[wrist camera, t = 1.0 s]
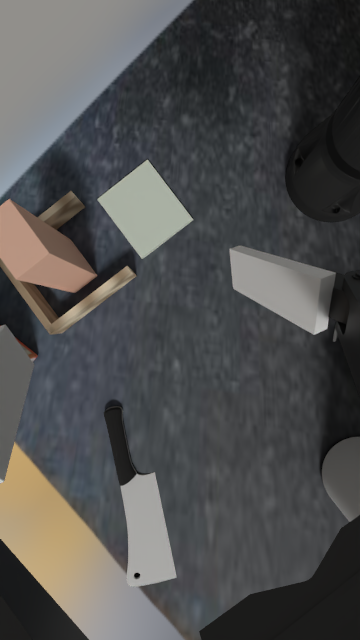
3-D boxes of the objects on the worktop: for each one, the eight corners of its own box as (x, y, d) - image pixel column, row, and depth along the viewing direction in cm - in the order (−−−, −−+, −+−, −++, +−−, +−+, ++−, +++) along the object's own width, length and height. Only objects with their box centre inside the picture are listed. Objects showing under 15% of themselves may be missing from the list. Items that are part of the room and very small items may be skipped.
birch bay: (81, 201, 41) (71, 190, 37) (136, 275, 41) (131, 271, 37) (8, 259, 42) (-9, 254, 38) (61, 333, 41) (49, 334, 38)
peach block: (70, 239, 41) (9, 198, 27) (97, 275, 41) (49, 253, 27) (48, 257, 41) (-24, 225, 27) (75, 293, 41) (16, 279, 27)
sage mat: (147, 161, 40) (147, 159, 40) (193, 220, 40) (193, 219, 40) (98, 200, 41) (97, 199, 40) (142, 259, 41) (141, 258, 40)
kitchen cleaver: (186, 580, 40) (128, 595, 39) (185, 569, 42) (129, 584, 41) (152, 400, 40) (94, 412, 39) (153, 397, 42) (97, 408, 41)
